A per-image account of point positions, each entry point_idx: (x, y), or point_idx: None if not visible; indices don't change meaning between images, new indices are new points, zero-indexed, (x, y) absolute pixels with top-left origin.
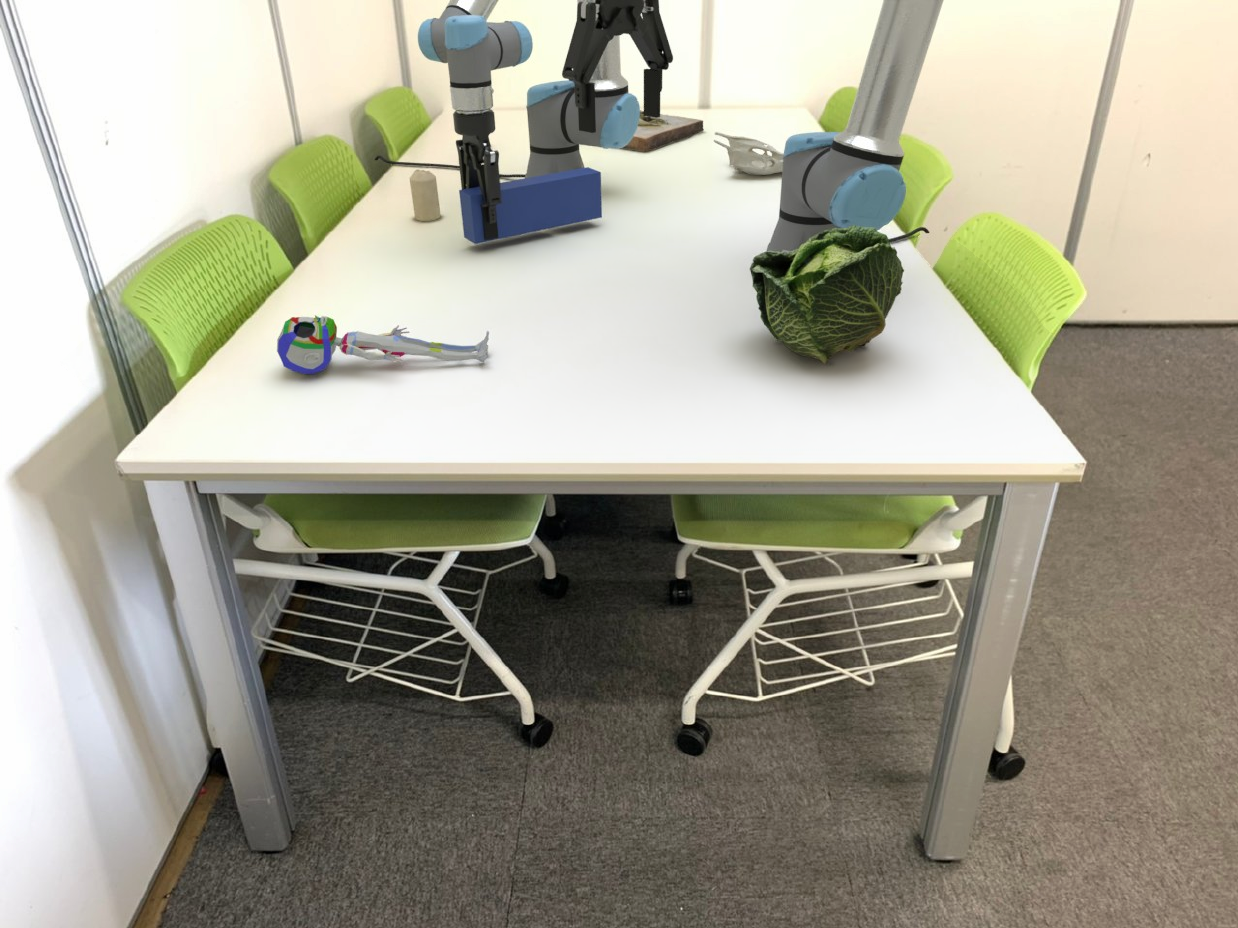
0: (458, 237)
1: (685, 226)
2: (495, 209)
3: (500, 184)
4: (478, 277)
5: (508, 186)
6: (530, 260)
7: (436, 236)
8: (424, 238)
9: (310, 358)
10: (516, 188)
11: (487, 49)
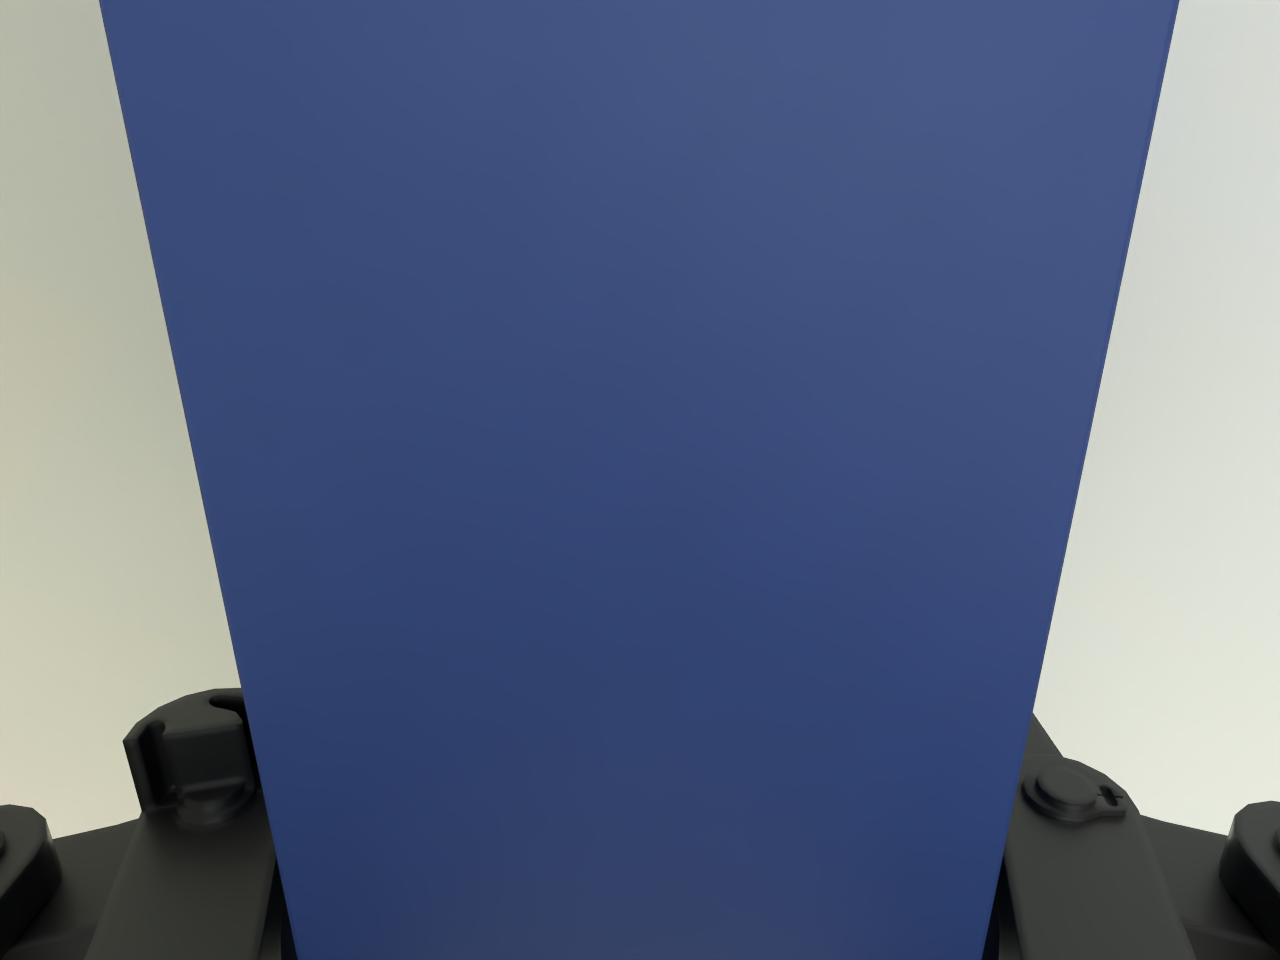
0: (193, 569)
1: None
2: (1054, 752)
3: (410, 478)
4: (1228, 825)
5: (823, 373)
6: (1269, 314)
7: (75, 706)
8: (90, 796)
9: None
10: (1122, 181)
11: None
